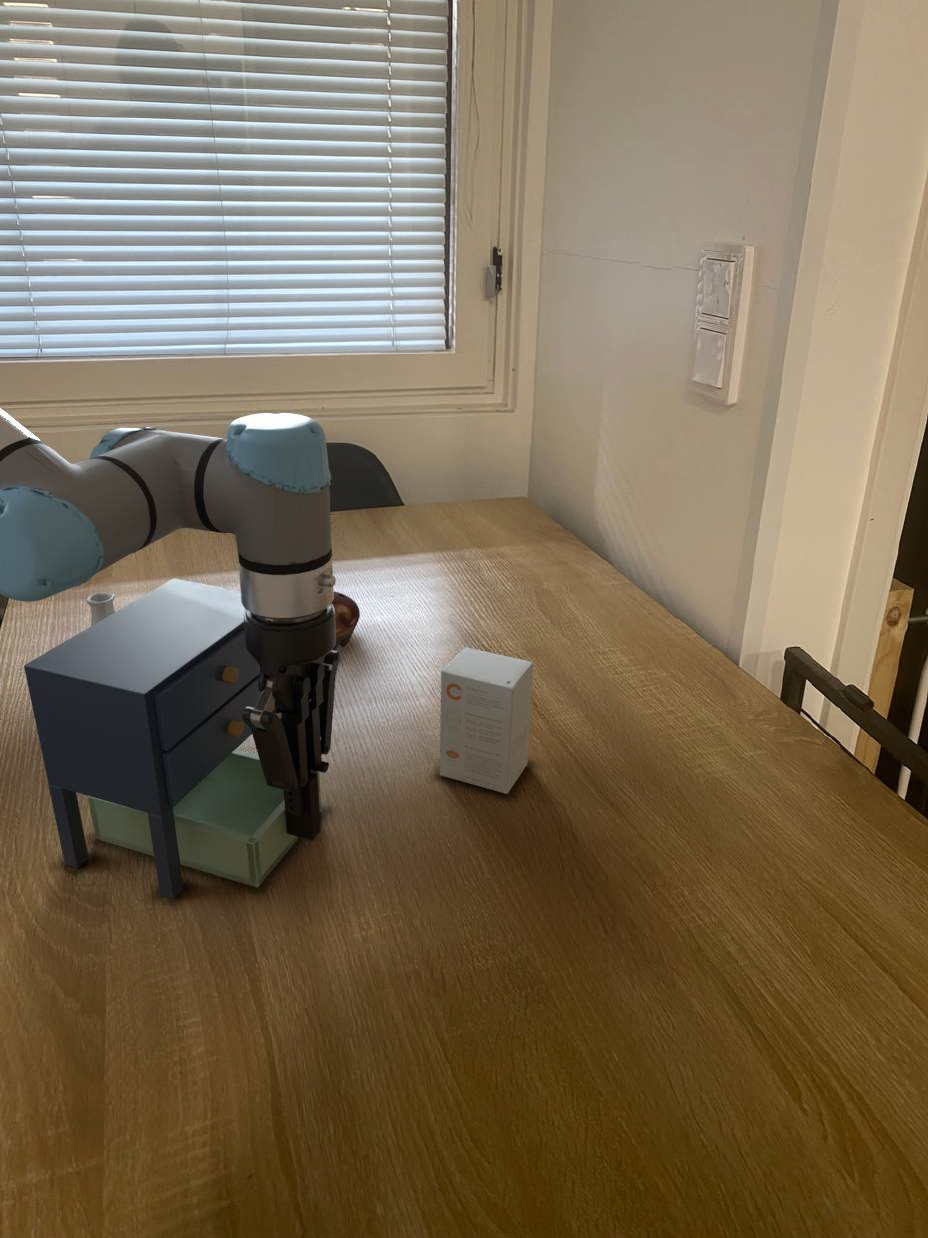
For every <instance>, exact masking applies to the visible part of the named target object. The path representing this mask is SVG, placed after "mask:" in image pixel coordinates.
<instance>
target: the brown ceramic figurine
mask: <svg viewBox="0 0 928 1238" xmlns="http://www.w3.org/2000/svg"><path fill="white" fill-rule="evenodd" d="M333 592H334V599H333V602H332V604H333V606H334V608H335V623H336V644H335V646H334V648H333V649H332V650H333V651H337V648H338V647H339V646H340V647H346V646H347V645H349V643H350V640H351V638H352V636H353V634H354V632H355V629H356V627H357V626H358V624H359V620H360V618H361V617H360V616H361V612H360V608H359V605H358V603H357V602H355V600H354V599H352V598H351V597H350V596H348V595H346V594H344V593H341V592H338V591H334V590H333Z"/></svg>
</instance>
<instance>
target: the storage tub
mask: <svg viewBox="0 0 928 1238" xmlns="http://www.w3.org/2000/svg"><path fill="white" fill-rule="evenodd" d="M317 772H318V792H319V809H320V813H321V812H322V799H321V798H322V797H321V780H320V779H321V777H320V772H319V771H317ZM87 801H88V802H87V803H88V806H89V807H88V808H89V812H90V817H91V822H92V828H93V833H94V834H93V835H94V838H95V840H99V841H102V842H105V843H108V844H112V845H115V846H118V847H121V848H125V849H129V850H132V851H135V852H138V853H142V854H144V855H149V856H152V857H154V851H153V845H152V838H151V832H150V825H149V819H148V813H146V812H143V811H139V810H136V809H132V808H129V807H125V806H122V805H118V804H115V803H112V802H108V801H105V800H101V799H98V798H94V797H91V796H87ZM284 801H285V800H284V791H283V790H282V789H278V788H274V787H270V786H267V783H266V780H265V776H264V773H263V769H262V766H261V763H260V759H259V756H258V754H255V753H251V752H247V751H245V750H239V749H235V750H234V751H233V752H232V753H231V754H230V755H229V756H228V757H227V758H226V759H225V760H224V761H223V762H221V763H220V764H219V765H218V766H217V767H216V768H215V769H214V770H213V771H212V772H211V773H210V774H209V775H208V776H206V777H205V778H204V779H203V780H202V781H201V782H200V783H199V784H198V785H197V786H196V787H195V788H194V789H192V790H191V791H190V792H189V793H188V794H187V795H186V796H185V797H184V798H183V799H182V800H181V801H180V802H179V803H177V804H176V805H175V806H173V807H172V808H173V813H174V821H175V828H176V835H177V842H178V850H179V857H180V864H181V866H185V867H187V868H191V869H194V870H198V871H201V872H204V873H208V874H212V875H215V876H217V877H221V878H224V879H228V880H231V881H234V882H237V883H241V884H243V885H248V886H251V887H254V888H259V887H260V885H261V884H263V882H264V881H265V880H266V878H267V877H268V876H269V875H270V874H271V872H272V871H273V870H274V869H275V867H276V866H277V865H278V864H279V863H280V861H281V860H282V859H283V858H284V857H285V855H286V854H287V853H288V852H289V851H290V850H291V848H292V847H293V846H294V845H295V843H297V841H298V840H299V839H300V837H297V836H294V835H290V834H288V833H287V820H286V810H285V804H284Z"/></svg>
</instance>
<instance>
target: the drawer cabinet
mask: <svg viewBox="0 0 928 1238" xmlns="http://www.w3.org/2000/svg"><path fill="white" fill-rule="evenodd" d="M244 611H245V608H244V606H243V605H242V603H241V590H236V589H231V588H227V587H221V586H216V585H210V584H205V583H202V582H201V583H200V582H196V581H195V582H194V581H191V580H185V579H181V578H180V579H179V578H174V577H173V578H171V579H169V580H168V581H166V582H164V583H163V584H161V585H159V586H157V587H156V588H153V590H150V591H149V592H146V593H145V594H144V595H141V596H140V597H139V598H137V599H135V600H133V601H132V602H130V603H128V604H127V605H125V606H123V607H121V608H119V609H118V610H115V613H113V614H111V615H109V616H108V617H106V618H104V619H103V620H101V621H99V622H98V623H96V624H94V625H92V626H91V625H90V626H89V627H87V628H86V629H84V630H82V631H81V632H79V633H77V634H75V635H74V636H72V637H70V638H69V639H67V640H65V641H63V642H61V643H60V644H58V645H56V646H55V647H53V648H52V649H49V650H48V651H46V652H44V653H43V654H41V655H39V656H38V657H36V658H34V659H33V660H31V661H28V662H27V663H25V664H24V665H23V669H24V674H25V678H26V683H27V687H28V692H29V697H30V701H31V708H32V712H33V717H34V720H35V727H36V731H37V736H38V740H39V745H40V750H41V755H42V759H43V764H44V769H45V775H46V779H47V784H48V789H49V790H48V791H49V795H50V800H51V804H52V809H53V813H54V819H55V823H56V828H57V833H58V838H59V843H60V847H61V852H62V857H63V863H64V865H66V866H68V867H72V868H75V869H79V868H80V867H81V866H82V865H83V864H85V863H86V862H87V861H88V860H89V859H90V857H89V851H88V847H87V842H86V835H85V831H84V827H83V821H82V815H81V810H80V805H79V800H78V795H77V794H81V795H85V796H87V797H88V796H91V797H94V798H98V799H101V800H105V801H108V802H112V803H115V804H118V805H122V806H125V807H129V808H132V809H136V810H139V811H143V812H146V813H148V819H149V825H150V832H151V838H152V845H153V851H154V856H153V857H154V862H155V864H154V865H155V870H156V877H157V884H158V889H159V895H160V896H163V897H166V898H169V899H176V897H177V896H178V895H179V894H180V893H181V892H182V891H183V890H184V879H183V872H182V865H181V864H180V857H179V850H178V842H177V835H176V828H175V821H174V813H173V808H172V807H173V806H175V805H176V804H177V803H179V802H180V801H181V800H182V799H183V798H184V797H185V796H186V795H187V794H188V793H189V792H190V791H191V790H192V789H194V788H195V787H196V786H197V785H198V784H199V783H200V782H201V781H202V780H203V779H204V778H205V777H206V776H208V775H209V774H210V773H211V772H212V771H213V770H214V769H215V768H216V767H217V766H218V765H219V764H220V763H221V762H223V761H224V760H225V759H226V758H227V757H228V756H229V755H230V754H231V753H232V752H233V751H234V750H235V749H236V750H238V748H239V747H240V746H241V745H242V744H243V743H244V742H246V740H248V739H249V738H250V737H251V736H253V735H252V731H251V729H250V727H249V726H248V725H247V724H246V723H245V722H244V720H243V719H242V714H243V711H244V709H245V708H246V707H253V708H255V706H256V704H257V702H258V700H259V698H260V695H261V692H260V691H259V688H258V681H259V676H260V665H259V663H258V662H257V661H256V660H255V658H254V657H253V656H252V655H251V654H250V653H249V652H248V650H247V647H246V639H245V628H244V617H243V614H244Z"/></svg>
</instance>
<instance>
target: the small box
mask: <svg viewBox="0 0 928 1238" xmlns="http://www.w3.org/2000/svg"><path fill="white" fill-rule="evenodd" d="M533 677H534V662H533V661H530V660H525V659H521V658H517V657H511V656H507V655H502V654H498V653H494V652H490V651H486V650H485V651H484V650H480V649H476V648H471V647H467V646H464V647H463V649H461V650H460V651H459V653H458V654H457V655H456V656H454V658H453V659H452V660H451V661H450V662H449V663H448V664H446V665H445V666H444V667H443V669H441V670H440V722H439V723H440V726H439V727H440V728H439V776H441V777H444V778H447V779H452V780H455V781H459V782H463V783H465V784H469V785H473V786H477V787H480V788H483V789H488V790H491V791H495V792H498V793H502V794H504V795H508V794H509V792H510V791H511V789H512V788H513V786H514V785H515V783H516V782H517V780H518V779H519V778H520V776H521V774H522V773H523V771H524V770H525V769H526V767H527V766H528V762H529V745H530V731H531V714H532V713H531V712H532V698H533V697H532V695H533Z"/></svg>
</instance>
